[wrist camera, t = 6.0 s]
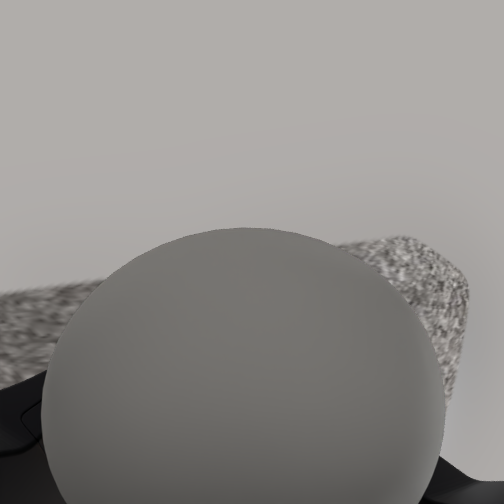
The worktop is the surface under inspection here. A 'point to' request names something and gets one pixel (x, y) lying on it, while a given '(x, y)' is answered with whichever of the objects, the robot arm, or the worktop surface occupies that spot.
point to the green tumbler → (243, 380)
